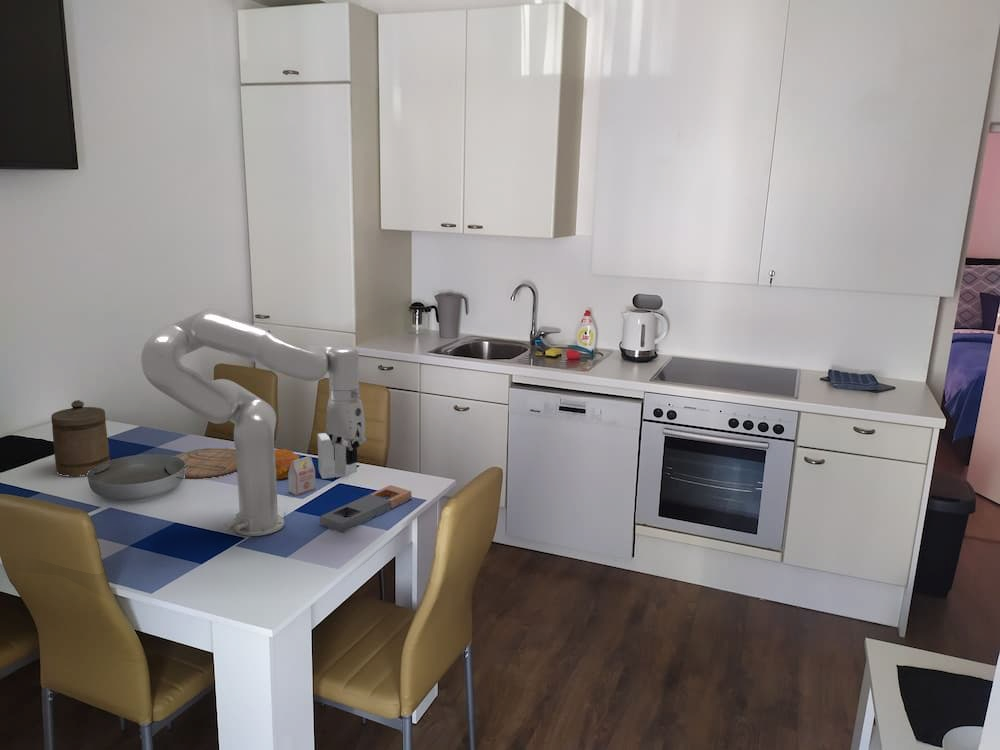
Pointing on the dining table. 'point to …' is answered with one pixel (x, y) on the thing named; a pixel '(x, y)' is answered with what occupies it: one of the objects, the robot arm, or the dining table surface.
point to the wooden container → (79, 439)
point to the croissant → (283, 462)
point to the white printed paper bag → (301, 476)
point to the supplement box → (326, 457)
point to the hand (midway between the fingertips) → (345, 460)
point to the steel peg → (343, 459)
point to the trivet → (209, 462)
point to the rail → (364, 508)
